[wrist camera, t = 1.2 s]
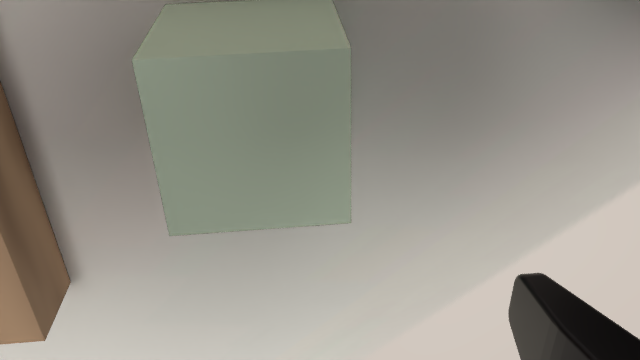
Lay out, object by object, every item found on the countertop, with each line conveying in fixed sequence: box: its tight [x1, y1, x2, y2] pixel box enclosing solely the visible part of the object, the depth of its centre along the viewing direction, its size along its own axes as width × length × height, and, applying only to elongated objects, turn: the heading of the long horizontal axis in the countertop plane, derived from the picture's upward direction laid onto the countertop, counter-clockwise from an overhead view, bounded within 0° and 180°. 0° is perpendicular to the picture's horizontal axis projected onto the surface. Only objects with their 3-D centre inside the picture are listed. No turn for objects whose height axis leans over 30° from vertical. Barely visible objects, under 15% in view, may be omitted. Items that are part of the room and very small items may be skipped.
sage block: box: [132, 0, 351, 236], centre depth 16 cm, size 5×5×5 cm
